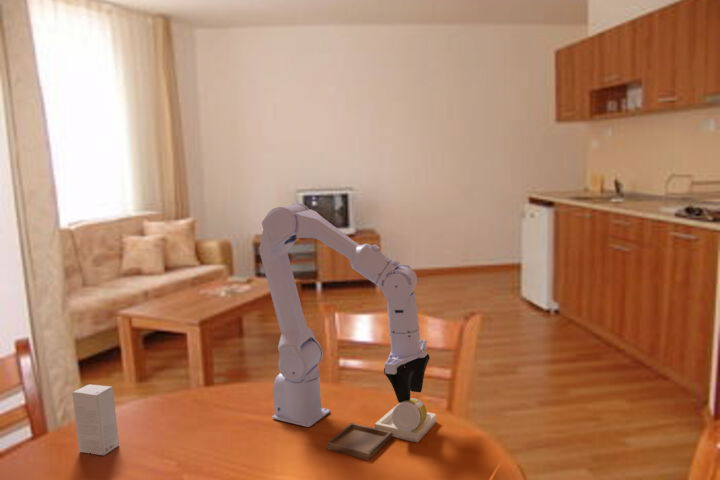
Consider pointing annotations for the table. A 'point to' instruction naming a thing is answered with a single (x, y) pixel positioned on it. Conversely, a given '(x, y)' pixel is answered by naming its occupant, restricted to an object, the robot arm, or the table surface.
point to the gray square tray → (359, 441)
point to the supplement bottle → (409, 415)
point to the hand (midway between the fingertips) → (410, 396)
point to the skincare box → (96, 419)
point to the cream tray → (414, 435)
